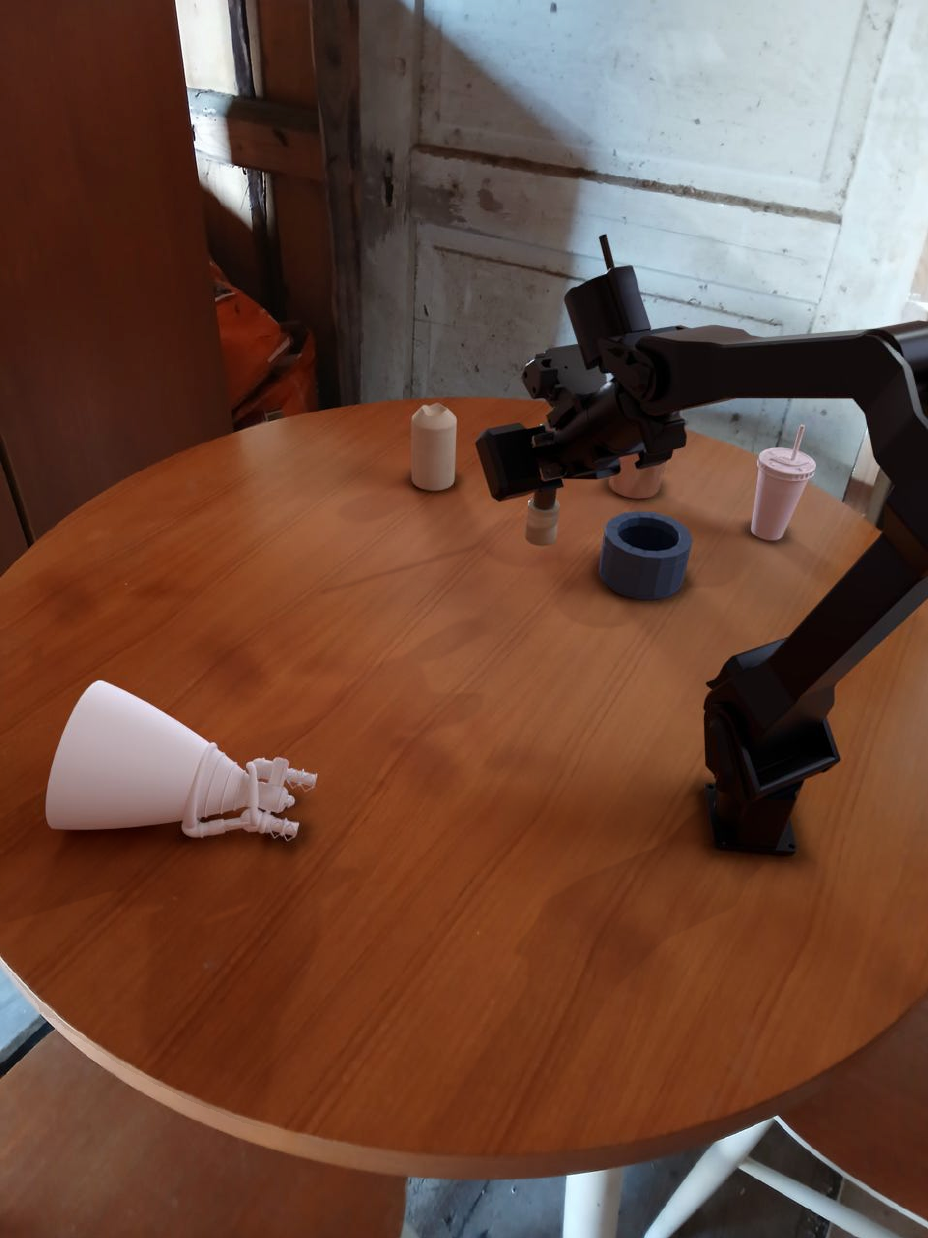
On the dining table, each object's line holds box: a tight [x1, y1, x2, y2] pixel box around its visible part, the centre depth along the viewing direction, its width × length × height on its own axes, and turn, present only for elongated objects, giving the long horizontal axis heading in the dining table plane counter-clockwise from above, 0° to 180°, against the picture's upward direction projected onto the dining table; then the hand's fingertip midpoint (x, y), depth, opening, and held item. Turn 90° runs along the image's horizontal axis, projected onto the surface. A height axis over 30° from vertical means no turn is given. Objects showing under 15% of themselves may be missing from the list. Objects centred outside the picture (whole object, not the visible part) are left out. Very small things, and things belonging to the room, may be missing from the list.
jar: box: [598, 510, 693, 601], centre depth 99 cm, size 9×9×6 cm
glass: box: [598, 233, 684, 500], centre depth 107 cm, size 11×11×30 cm
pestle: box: [524, 421, 561, 547], centre depth 89 cm, size 3×3×12 cm
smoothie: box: [750, 424, 817, 541], centre depth 104 cm, size 6×6×14 cm
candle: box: [411, 402, 458, 492], centre depth 112 cm, size 6×6×10 cm
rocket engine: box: [45, 679, 318, 842], centre depth 70 cm, size 12×12×18 cm
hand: (539, 475), depth 90 cm, fingers closed on pestle, 2 cm apart
